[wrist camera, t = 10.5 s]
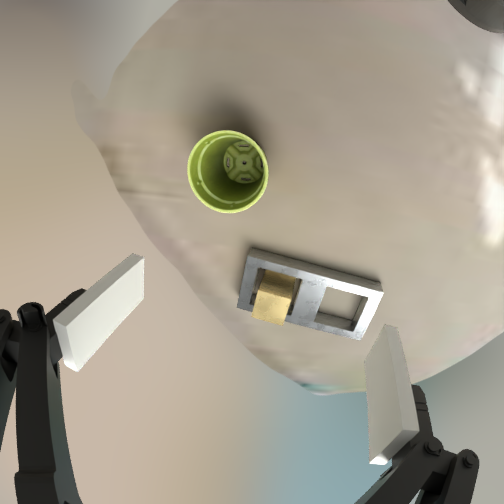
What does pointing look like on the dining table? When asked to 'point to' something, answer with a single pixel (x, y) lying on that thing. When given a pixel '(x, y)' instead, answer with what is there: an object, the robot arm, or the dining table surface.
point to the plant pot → (227, 171)
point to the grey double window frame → (313, 293)
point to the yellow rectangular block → (273, 297)
